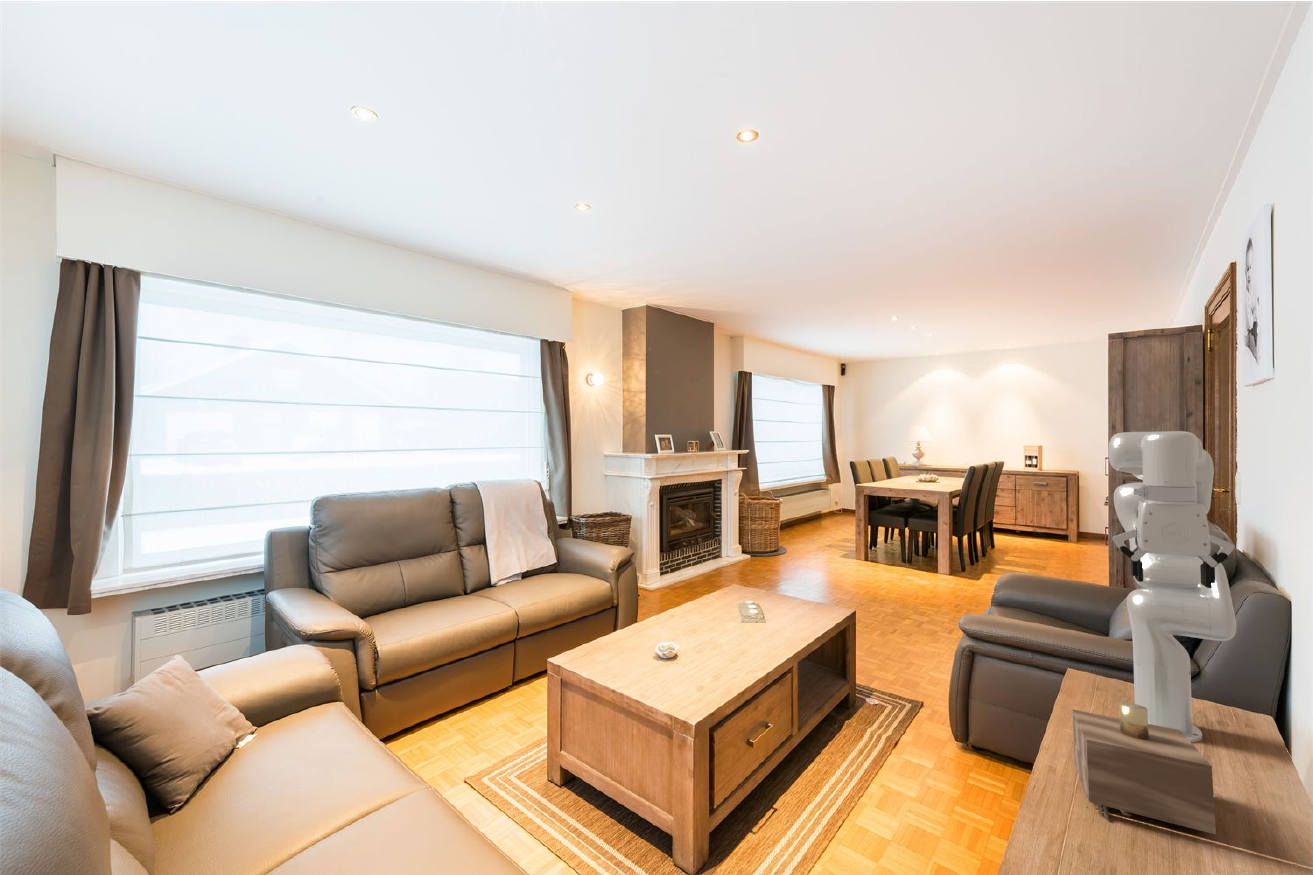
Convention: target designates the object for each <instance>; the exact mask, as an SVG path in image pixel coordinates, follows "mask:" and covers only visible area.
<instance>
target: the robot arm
mask: <svg viewBox="0 0 1313 875" xmlns="http://www.w3.org/2000/svg"><path fill="white" fill-rule="evenodd" d="M1107 449H1108V450H1107V455H1108V457H1107V458H1108V460H1109V464H1110V465H1111V467H1112V468H1113V469H1114V470H1115V471H1118V472H1122V473H1127V474H1128V473H1129V474H1131V475H1133V476H1134V477H1136V478H1137V479H1139V480H1142V482H1130V483H1125V484H1124V483H1123V484H1121V485H1119V486H1117V487H1115V490H1114V492H1113V505H1114V509H1115V514H1116V516H1117V518H1118V521H1119V522H1120V524H1121V526H1122V528H1123V530H1124V531H1125V532H1122V533H1119V534H1116V535H1113V536H1112V541H1113V542H1114V544H1115V545H1116V546H1117V548H1118V549H1119V551H1121V553H1123V554H1124V555H1125V556H1127V557H1128V558H1129V559H1130V575H1131V577H1133V579H1134V580H1135V582H1136V583H1137V585H1138V586H1140V587H1143V588H1137V589H1134V590H1132V591H1131V592H1129V594H1128V595H1127V597H1126V609H1127V614H1128V618H1129V622H1130V627H1131V628H1130V629H1131V638H1132V653H1133V654H1132V656H1133V657H1132V660H1133V687H1134V688H1133V689H1134V690H1133V692H1134V694H1133V696H1134V704H1137V705H1141V706H1143V707H1145V708H1147V710H1148V724H1152V725H1157V726H1162V727H1167V728H1173V729H1178V730H1180V731H1181V732H1182V733H1183V734H1184V735H1185V736H1186V738H1187V739H1188V740H1189V741H1190V742H1191V743H1197V742H1200V741H1202V740H1203V731H1201V730H1200V728H1198V727H1197V726H1195V724H1193V713H1192V712H1193V709H1192V680H1191V679H1192V678H1191V677H1192V675H1191V658H1190V654H1189V653H1188V651H1187V649H1186V648H1185V647H1184V645H1182V644H1181V643H1180V642H1179V641H1178V640H1177V639H1176V638H1175V637H1174V636H1182V637H1190V638H1197V639H1203V640H1210V641H1218V642H1220V641H1221V642H1226V641H1231V640H1232V639H1233V638H1234V637H1235V636H1236V634H1237V619H1236V615H1235V608H1234V605H1233V600H1232V595H1231V590H1230V584H1229V579H1228V576H1227V572H1226V569H1225V567H1224V566H1223V564H1222V562H1224V561H1226V560H1227V559H1228V558H1229V555H1230V554H1231V553H1232V552H1233V550H1234V549H1235V547H1236V545H1235V544H1233V543H1231V542H1229V541H1227V540H1224V539H1222V538H1219V537H1217V536H1215V535H1212V534H1210V529H1209V522H1208V517H1207V514H1208V513H1209V512H1210V509H1211V504H1212V503H1211V502H1212V495H1213V494H1212V493H1213V484H1214V474H1215V468H1214V461H1213V458H1212V456H1211V454H1210V453H1209V452H1208V451H1207V450H1205V449H1204V448H1203V442H1202V440H1201V439H1200V438H1198V436H1197V435H1196V434H1195V433H1193V432H1191V431H1183V430H1176V431H1175V430H1173V431H1172V430H1171V431H1170V430H1167V431H1162V430H1161V431H1126V432H1125V431H1124V432H1118V433H1115V434H1113V435H1112V436H1111V438H1110V440H1109V443H1108V448H1107ZM1127 540H1128V542H1129V548H1128V546H1127V544H1125V541H1127ZM1211 543H1212V544H1215V545H1216V546H1217V545H1218V546H1219V547H1220V548H1219V550H1218V551H1217V552H1215V553H1214V554H1211V549H1212V548H1211V546H1212V545H1211ZM1210 554H1211V555H1210Z"/></svg>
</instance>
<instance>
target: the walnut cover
mask: <svg viewBox="0 0 1313 875" xmlns="http://www.w3.org/2000/svg"><path fill="white" fill-rule="evenodd" d="M1118 715H1119V716H1118V717H1115V716H1109V715H1105V714H1098V713H1093V712H1089V711H1088V712H1087V711H1083V710H1078V709H1072V724H1073V725H1072V727H1073V728H1072V729H1073V730H1072V732H1073V756H1074V765H1075V768H1076V771H1077V773H1078V776H1079V779H1080V781H1081V784H1082V786H1083V789H1084V792H1085V794H1086V797H1087V799H1088V801H1089V803H1093V804H1095V805H1096V804H1099V805H1101V806H1107V808H1112V809H1116V810H1119V811H1120V810H1123V811H1127V812H1129V813H1130V814H1134V815H1139V816H1142V817H1146V818H1150V819H1153V820H1154V819H1155V820H1159V821H1162V822H1165V823H1169V824H1174V825H1177V826H1181V827H1185V828H1189V829H1192V830H1196V831H1201V832H1205V833H1208V834H1212V835H1215V836H1217V830H1216V829H1217V827H1216V811H1215V797H1214V795H1215V794H1214V782H1213V781H1214V779H1213V766H1212V764H1211V763H1210V762H1209V761H1208V760H1207V759H1206V758H1205V757H1204V755H1203V754H1202V753H1201V752H1200V751H1199V750H1198V749H1197V748H1196V746H1195V745H1194V744H1193V742H1190V741H1189V740H1188V739H1187V738H1186V736H1185V735H1184V734H1183V733H1182V732H1181V731H1180V730H1178V729H1173V728H1167V727H1162V726H1157V725H1152V724H1148V710H1147V708H1145V707H1143V706H1141V705H1137V704H1135V703H1132V702H1127V701H1126V702H1125V701H1120V702H1118Z"/></svg>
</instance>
